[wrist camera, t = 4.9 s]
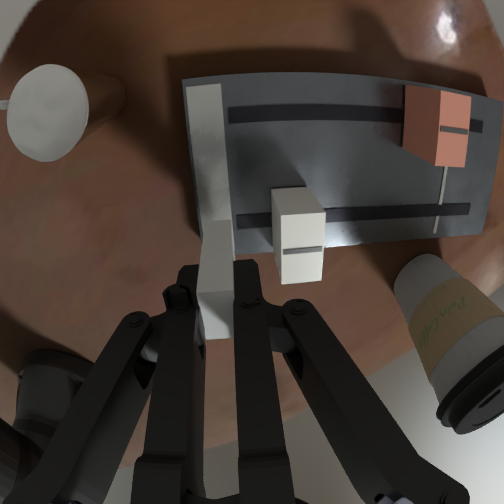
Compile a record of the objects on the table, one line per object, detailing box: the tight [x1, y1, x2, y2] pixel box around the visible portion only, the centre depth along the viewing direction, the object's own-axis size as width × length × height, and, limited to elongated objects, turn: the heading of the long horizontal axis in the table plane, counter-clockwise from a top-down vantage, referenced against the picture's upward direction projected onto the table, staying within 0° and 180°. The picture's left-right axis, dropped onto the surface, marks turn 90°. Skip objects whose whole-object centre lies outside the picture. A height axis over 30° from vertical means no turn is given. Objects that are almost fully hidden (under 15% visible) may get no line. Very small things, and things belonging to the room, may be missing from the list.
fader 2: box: [403, 85, 471, 167], centre depth 16 cm, size 2×4×4 cm, turn 3°
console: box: [182, 72, 503, 255], centre depth 20 cm, size 24×12×2 cm, turn 93°
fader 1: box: [271, 187, 326, 284], centre depth 19 cm, size 2×4×4 cm, turn 3°
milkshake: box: [0, 64, 126, 162], centre depth 13 cm, size 4×5×10 cm
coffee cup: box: [394, 254, 504, 434], centre depth 21 cm, size 9×9×15 cm
